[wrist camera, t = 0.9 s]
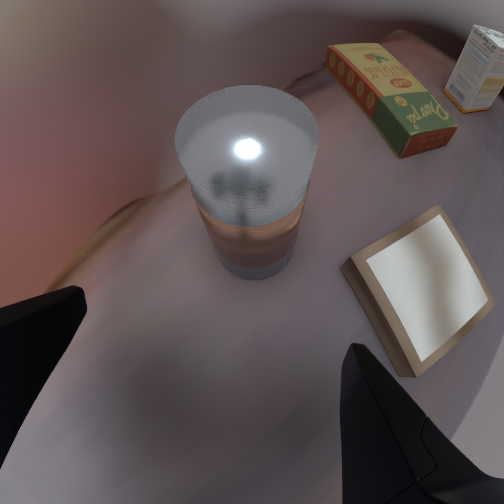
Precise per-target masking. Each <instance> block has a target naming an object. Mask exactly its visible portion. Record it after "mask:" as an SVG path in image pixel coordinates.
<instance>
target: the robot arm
mask: <svg viewBox="0 0 504 504" xmlns="http://www.w3.org/2000/svg"><path fill="white" fill-rule="evenodd" d="M86 312H87V304H86V299H85V294H84V290H83V289H82V288H81V287H78V286H74V285H72V286H69V287H65V288H62V289H59V290H56V291H52V292H49V293H46V294H43V295H39V296H36V297H33V298H30V299H27V300H24V301H21V302H17V303H15V304H11V305H8V306H5V307H2V308H0V469H1V467H2V464H3V462H4V460H5V458H6V456H7V454H8V451H9V449H10V447H11V445H12V443H13V441H14V439H15V437H16V435H17V433H18V431H19V429H20V427H21V425H22V423H23V422H24V420H25V418H26V416H27V414H28V412H29V411H30V409H31V407H32V405H33V403H34V402H35V400H36V398H37V396H38V395H39V393H40V391H41V390H42V388H43V386H44V384H45V383H46V381H47V379H48V378H49V376H50V375H51V373H52V371H53V370H54V368H55V367H56V365H57V363H58V362H59V360H60V359H61V357H62V355H63V354H64V352H65V351H66V349H67V348H68V346H69V344H70V343H71V341H72V339H73V337H74V335H75V333H76V331H77V329H78V328H79V326H80V324H81V322H82V320H83V318H84V317H85V315H86ZM340 427H341V449H342V504H504V479H501V478H495V477H492V476H489V475H487V474H485V473H484V472H482V471H481V470H480V469H479V468H478V467H476V466H475V465H474V464H473V463H472V462H471V461H470V460H469V459H468V458H467V457H466V456H465V455H464V454H463V453H462V452H461V451H460V450H459V449H457V447H456V446H454V444H453V443H452V442H450V440H449V439H448V438H447V437H446V436H445V435H444V434H443V433H442V432H441V431H440V430H439V429H438V428H437V426H436V425H435V424H434V423H433V422H432V421H431V420H430V418H429V417H426V414H425V413H424V412H423V410H422V409H421V408H420V407H419V406H418V405H417V403H416V402H415V401H414V400H413V399H412V398H411V397H410V395H409V394H408V393H407V392H406V391H405V390H404V389H403V387H402V386H401V385H400V384H399V383H398V382H397V381H396V379H395V378H394V377H393V376H392V375H391V374H390V373H389V371H388V370H387V369H386V368H385V367H384V366H383V365H382V364H381V362H380V361H379V360H378V359H377V358H376V357H375V356H374V355H373V353H372V352H371V351H370V350H369V349H368V348H367V347H366V346H365V345H364V344H359V343H352V344H351V345H350V346H349V348H348V351H347V353H346V356H345V358H344V361H343V364H342V372H341V395H340Z"/></svg>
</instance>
